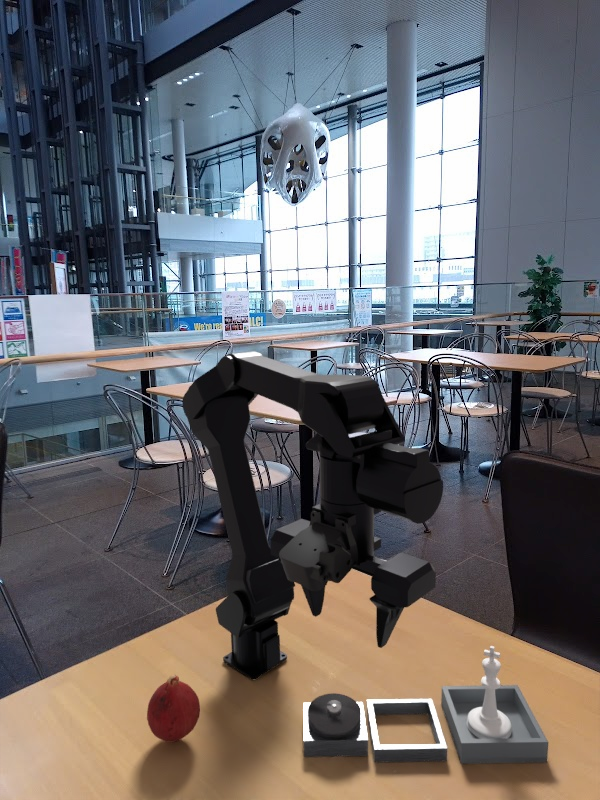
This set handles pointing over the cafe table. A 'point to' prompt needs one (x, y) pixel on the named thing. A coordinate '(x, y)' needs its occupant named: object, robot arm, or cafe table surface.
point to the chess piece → (489, 704)
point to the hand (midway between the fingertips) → (347, 629)
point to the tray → (518, 748)
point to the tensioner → (347, 735)
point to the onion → (173, 710)
